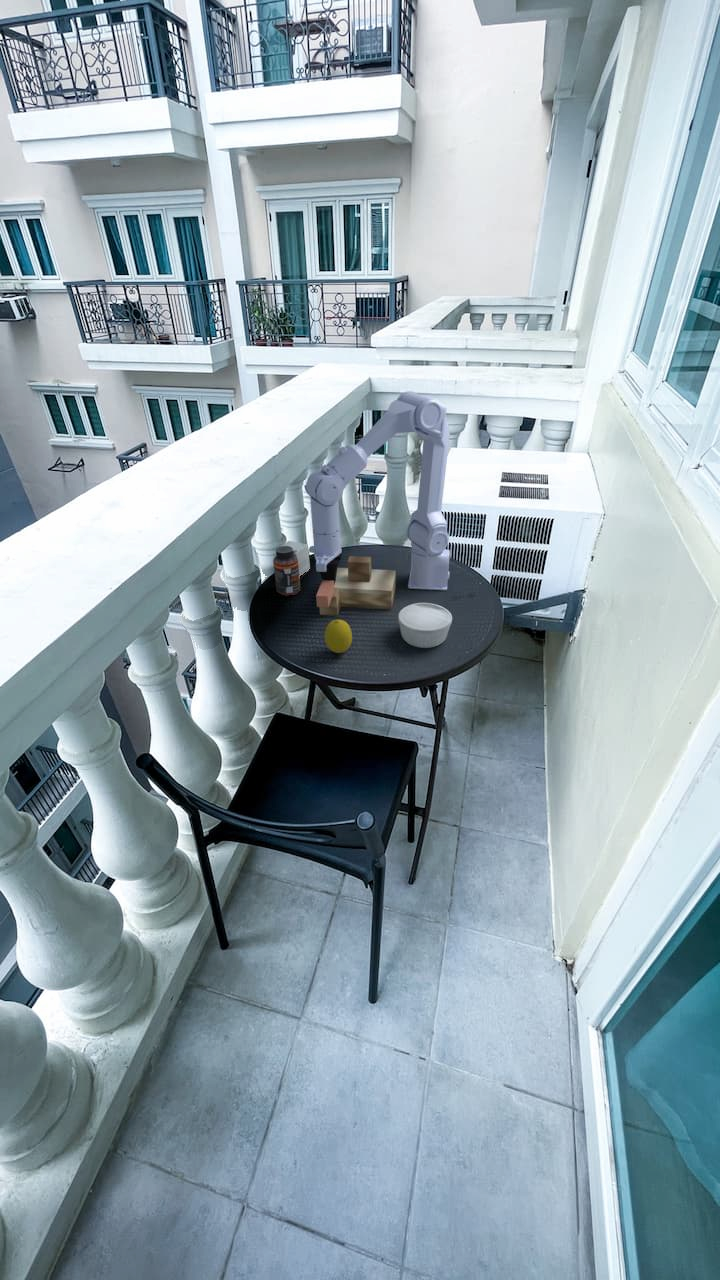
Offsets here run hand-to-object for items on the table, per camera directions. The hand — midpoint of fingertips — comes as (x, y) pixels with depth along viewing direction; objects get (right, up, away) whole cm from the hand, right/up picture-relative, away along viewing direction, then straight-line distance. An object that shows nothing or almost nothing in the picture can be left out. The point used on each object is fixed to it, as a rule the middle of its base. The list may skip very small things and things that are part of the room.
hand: (329, 585), depth 123 cm
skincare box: (-10, +5, +19) cm, 22 cm away
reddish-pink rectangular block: (-1, -3, -3) cm, 5 cm away
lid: (+7, +1, +5) cm, 9 cm away
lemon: (+3, -15, -11) cm, 19 cm away
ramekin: (+21, -12, -7) cm, 25 cm away
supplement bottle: (-11, 0, +11) cm, 15 cm away
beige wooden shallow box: (+7, -3, +6) cm, 9 cm away
